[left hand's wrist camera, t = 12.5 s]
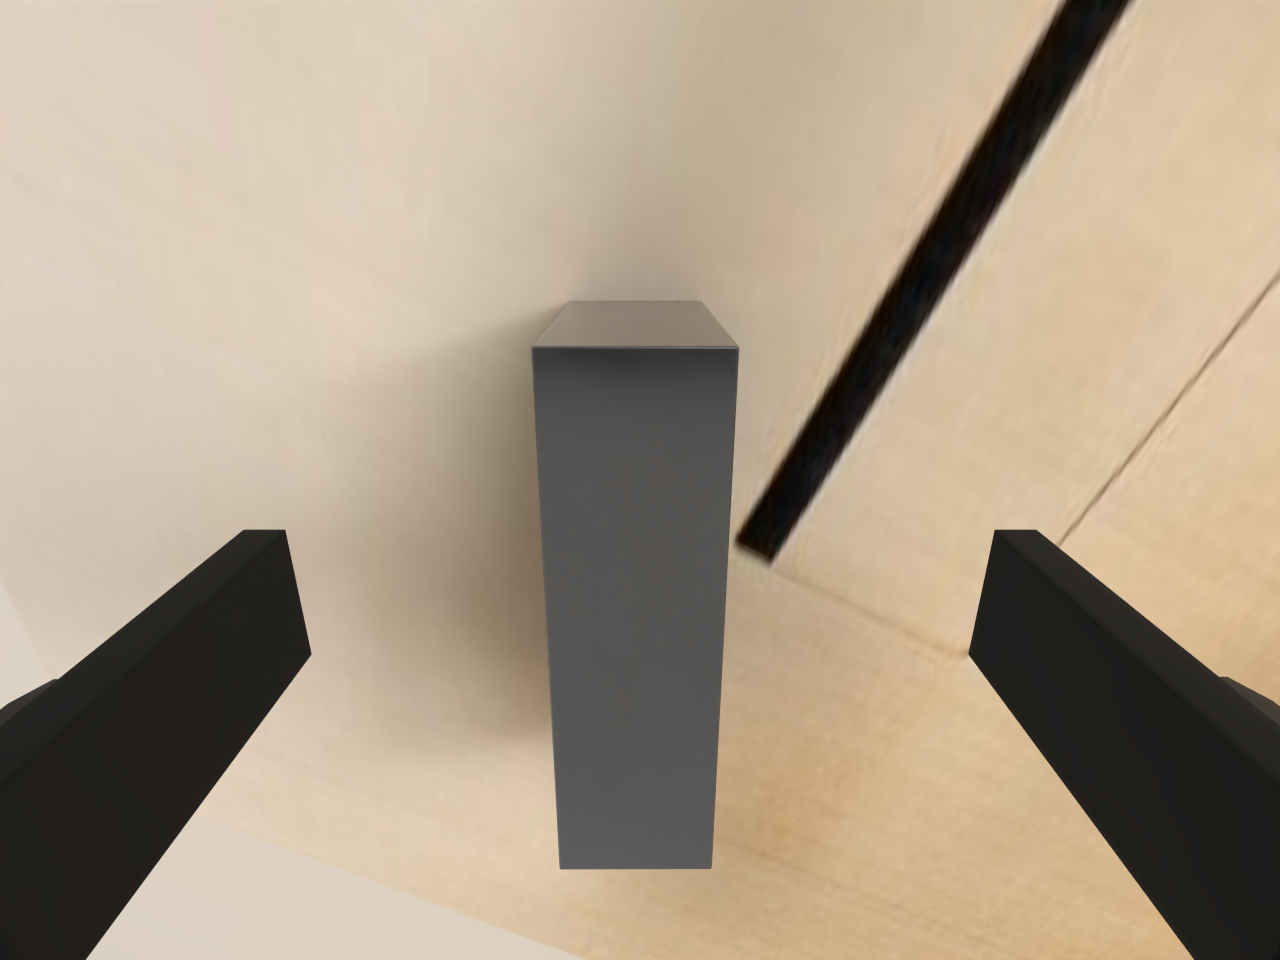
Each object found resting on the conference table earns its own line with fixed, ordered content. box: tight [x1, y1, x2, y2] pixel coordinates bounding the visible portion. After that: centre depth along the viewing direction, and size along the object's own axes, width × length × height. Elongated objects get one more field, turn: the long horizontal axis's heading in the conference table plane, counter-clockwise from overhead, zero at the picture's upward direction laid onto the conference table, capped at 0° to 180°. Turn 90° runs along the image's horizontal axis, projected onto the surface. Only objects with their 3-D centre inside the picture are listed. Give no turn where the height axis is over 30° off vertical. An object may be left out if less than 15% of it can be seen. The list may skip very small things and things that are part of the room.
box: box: [531, 301, 739, 869], centre depth 30 cm, size 21×6×12 cm, turn 0°
